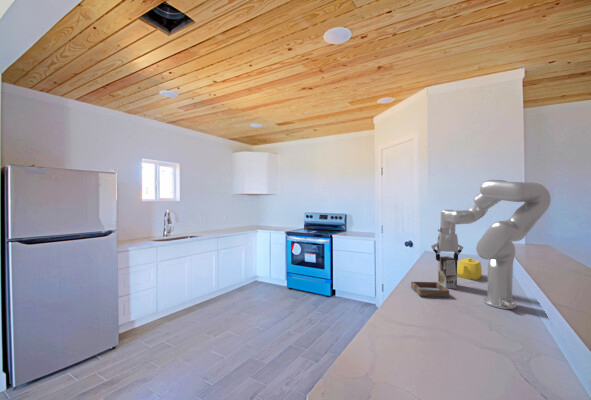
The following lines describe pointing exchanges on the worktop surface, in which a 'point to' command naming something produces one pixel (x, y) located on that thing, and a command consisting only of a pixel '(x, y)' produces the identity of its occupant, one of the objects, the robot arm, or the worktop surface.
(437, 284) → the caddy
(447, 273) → the coffee box
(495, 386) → the worktop surface
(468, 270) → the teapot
